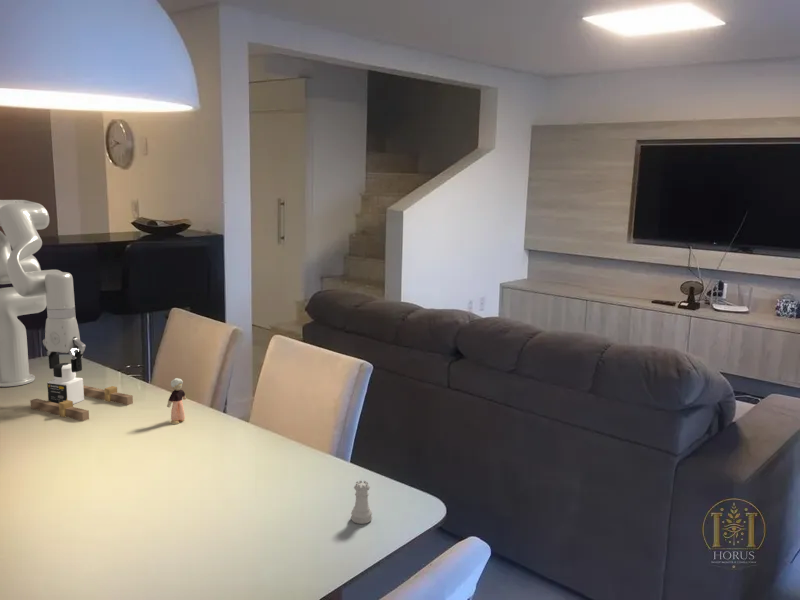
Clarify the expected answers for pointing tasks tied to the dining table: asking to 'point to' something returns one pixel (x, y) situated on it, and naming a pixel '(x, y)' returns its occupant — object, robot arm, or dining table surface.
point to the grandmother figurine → (177, 402)
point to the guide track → (76, 413)
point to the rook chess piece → (361, 504)
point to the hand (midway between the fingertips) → (65, 369)
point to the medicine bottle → (65, 385)
